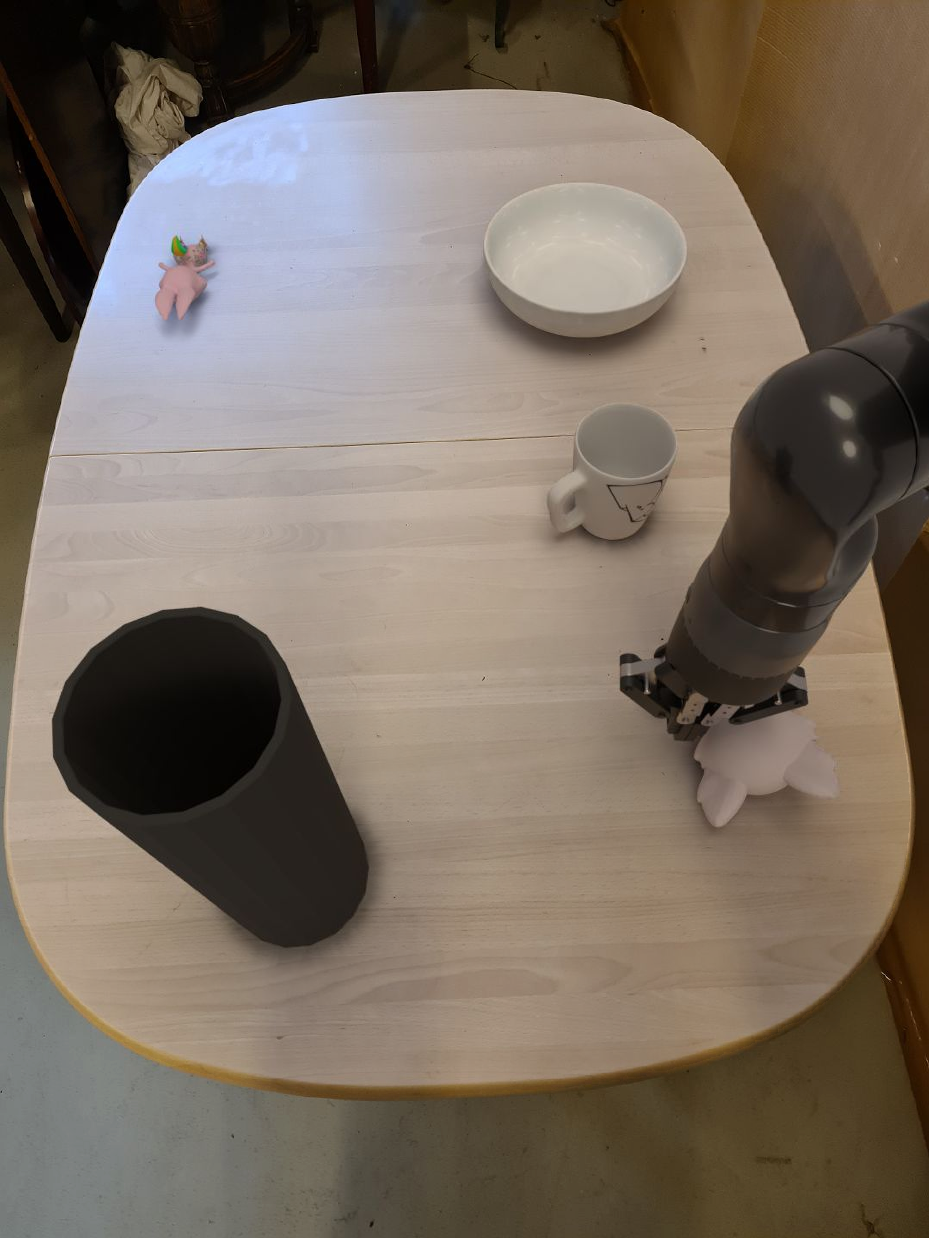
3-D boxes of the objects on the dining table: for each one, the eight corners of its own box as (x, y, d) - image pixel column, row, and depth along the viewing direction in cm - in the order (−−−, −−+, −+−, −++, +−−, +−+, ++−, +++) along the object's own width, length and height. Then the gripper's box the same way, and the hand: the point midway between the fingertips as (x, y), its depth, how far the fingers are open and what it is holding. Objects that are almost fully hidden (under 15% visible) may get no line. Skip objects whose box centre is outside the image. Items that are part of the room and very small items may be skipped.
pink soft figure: (171, 262, 99) (147, 335, 90) (155, 211, 94) (128, 282, 85) (225, 260, 99) (207, 333, 90) (212, 208, 95) (191, 279, 85)
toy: (661, 715, 74) (718, 861, 62) (632, 658, 69) (686, 804, 58) (793, 661, 71) (878, 804, 60) (771, 598, 67) (858, 740, 55)
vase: (225, 953, 60) (31, 835, 34) (232, 812, 65) (68, 616, 39) (371, 940, 60) (290, 813, 34) (367, 801, 65) (293, 598, 39)
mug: (571, 581, 75) (582, 512, 66) (519, 515, 79) (524, 441, 70) (675, 525, 78) (699, 452, 69) (620, 464, 81) (637, 387, 73)
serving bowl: (713, 292, 93) (729, 237, 87) (591, 397, 86) (599, 344, 80) (566, 211, 100) (572, 155, 94) (442, 301, 93) (440, 246, 87)
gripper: (635, 666, 48) (594, 769, 63) (875, 684, 47) (775, 784, 62) (634, 554, 52) (595, 677, 67) (857, 570, 51) (767, 691, 66)
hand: (683, 729), depth 65 cm, fingers closed
